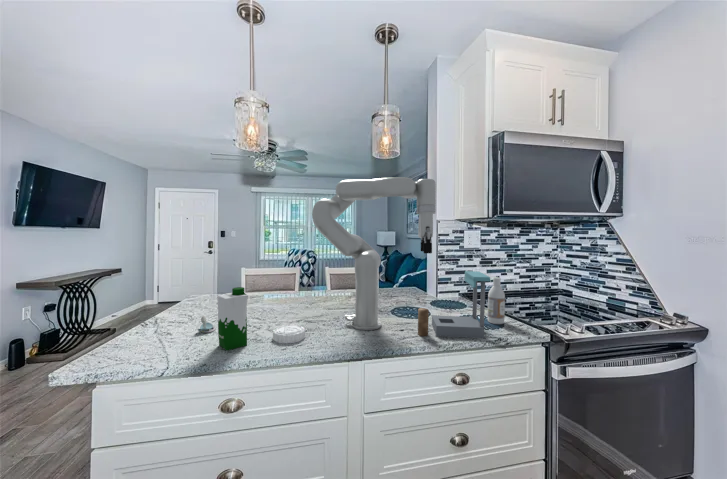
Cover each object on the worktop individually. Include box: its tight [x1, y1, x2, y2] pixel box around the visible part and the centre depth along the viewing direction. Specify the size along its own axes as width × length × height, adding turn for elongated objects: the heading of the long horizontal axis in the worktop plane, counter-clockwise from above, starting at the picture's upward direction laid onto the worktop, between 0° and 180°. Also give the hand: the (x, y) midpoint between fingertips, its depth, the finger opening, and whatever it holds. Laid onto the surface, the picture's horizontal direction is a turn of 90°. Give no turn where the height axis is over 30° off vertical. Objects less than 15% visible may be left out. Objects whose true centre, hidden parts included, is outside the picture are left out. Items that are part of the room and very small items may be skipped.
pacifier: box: [197, 315, 216, 334], centre depth 123 cm, size 7×6×6 cm
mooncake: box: [272, 324, 306, 344], centre depth 117 cm, size 12×12×4 cm
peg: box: [417, 307, 430, 337], centre depth 121 cm, size 4×4×10 cm
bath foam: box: [487, 276, 506, 325], centre depth 137 cm, size 7×7×20 cm
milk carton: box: [216, 286, 249, 351], centre depth 108 cm, size 9×9×20 cm
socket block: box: [431, 314, 485, 339], centre depth 125 cm, size 18×14×4 cm
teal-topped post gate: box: [464, 270, 491, 328], centre depth 124 cm, size 6×15×24 cm, turn 174°
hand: (426, 252), depth 125 cm, fingers open, 9 cm apart
